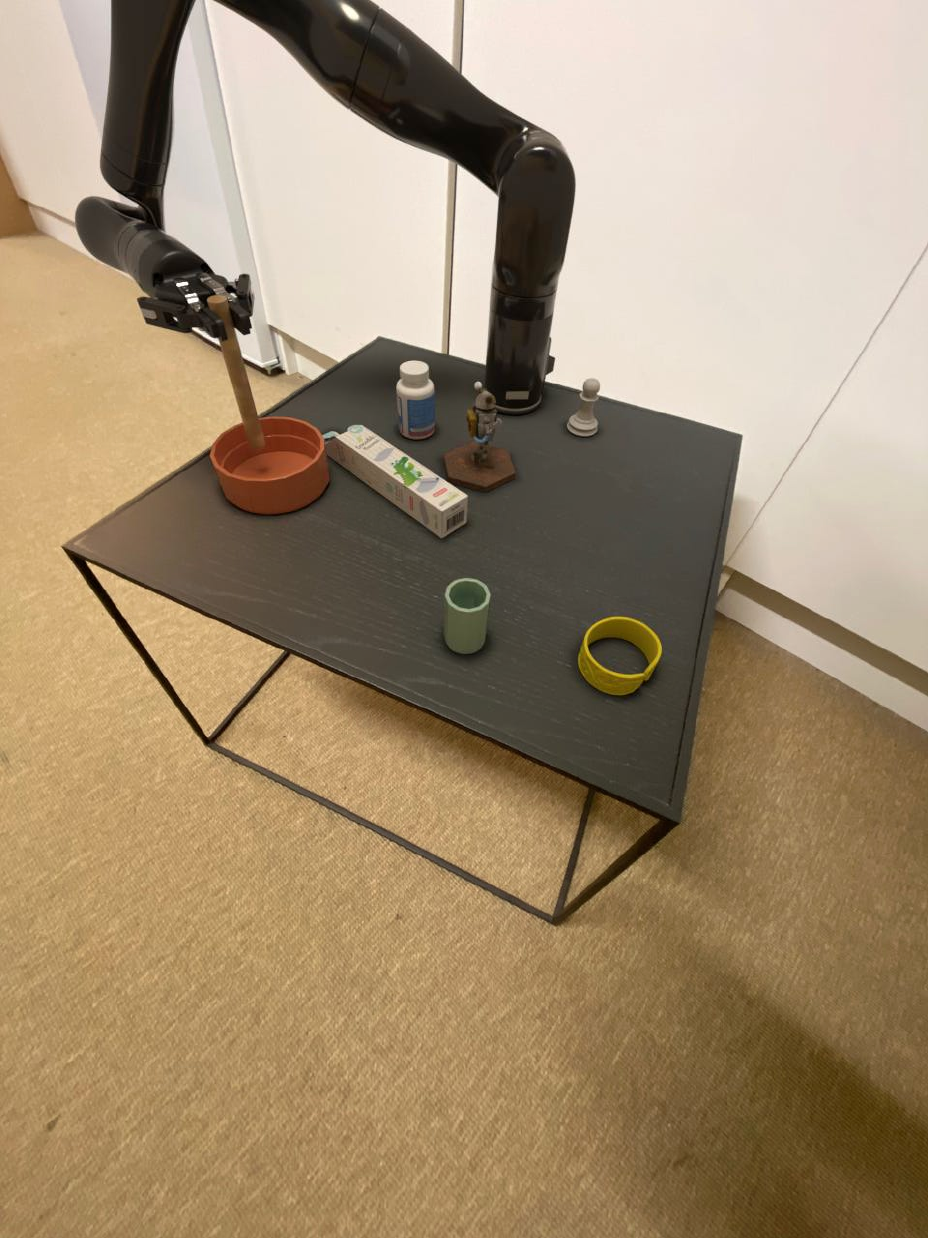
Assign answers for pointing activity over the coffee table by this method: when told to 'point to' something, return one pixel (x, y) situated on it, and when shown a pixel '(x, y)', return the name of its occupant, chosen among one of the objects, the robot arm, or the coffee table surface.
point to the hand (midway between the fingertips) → (234, 328)
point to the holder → (466, 615)
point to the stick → (238, 374)
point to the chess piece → (585, 411)
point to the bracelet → (626, 631)
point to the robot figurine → (480, 450)
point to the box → (399, 479)
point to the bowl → (272, 466)
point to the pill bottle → (415, 401)
